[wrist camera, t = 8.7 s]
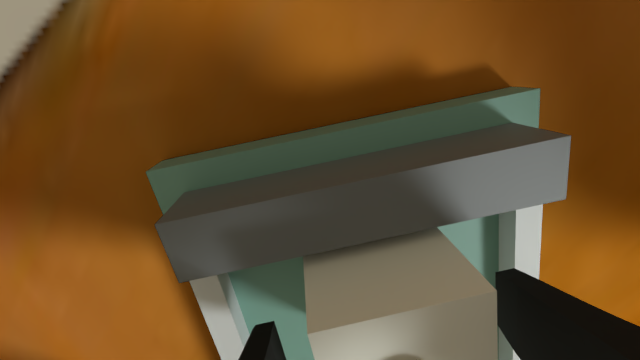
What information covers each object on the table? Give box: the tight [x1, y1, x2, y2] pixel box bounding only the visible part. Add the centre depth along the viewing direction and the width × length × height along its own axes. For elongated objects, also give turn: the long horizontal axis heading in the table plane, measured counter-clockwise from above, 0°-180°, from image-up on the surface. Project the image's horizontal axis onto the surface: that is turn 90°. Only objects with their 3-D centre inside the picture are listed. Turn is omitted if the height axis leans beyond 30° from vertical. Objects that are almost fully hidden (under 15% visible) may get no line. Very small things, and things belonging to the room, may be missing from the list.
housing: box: [303, 227, 498, 360], centre depth 10 cm, size 4×4×6 cm
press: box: [146, 87, 571, 360], centre depth 13 cm, size 14×15×4 cm
